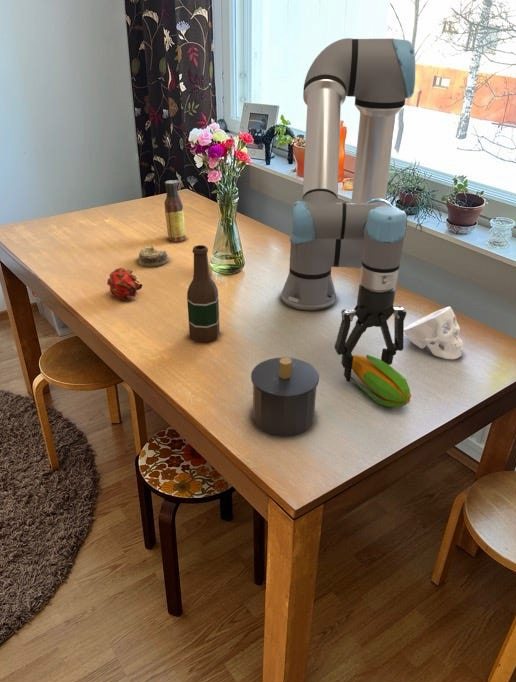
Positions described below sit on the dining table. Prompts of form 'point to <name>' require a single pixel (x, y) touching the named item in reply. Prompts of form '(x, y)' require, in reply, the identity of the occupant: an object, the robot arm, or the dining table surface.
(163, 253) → the grey rough lump
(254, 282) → the dining table surface
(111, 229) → the dining table surface
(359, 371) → the corn
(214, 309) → the beer bottle
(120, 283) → the dragon fruit
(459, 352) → the skull bowl
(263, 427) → the pot
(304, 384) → the pot lid
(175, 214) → the sauce bottle
